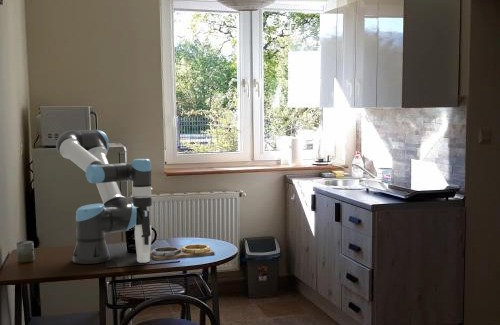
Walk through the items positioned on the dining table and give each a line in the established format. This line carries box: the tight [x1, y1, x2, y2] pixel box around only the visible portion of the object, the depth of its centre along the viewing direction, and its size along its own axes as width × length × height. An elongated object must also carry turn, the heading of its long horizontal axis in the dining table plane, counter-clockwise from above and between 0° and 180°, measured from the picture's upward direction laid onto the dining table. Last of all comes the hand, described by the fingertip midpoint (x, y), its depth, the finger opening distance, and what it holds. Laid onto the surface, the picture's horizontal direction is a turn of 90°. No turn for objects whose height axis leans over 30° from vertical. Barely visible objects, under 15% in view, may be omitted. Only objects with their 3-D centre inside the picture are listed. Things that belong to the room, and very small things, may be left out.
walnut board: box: [150, 247, 215, 261], centre depth 253 cm, size 26×13×1 cm, turn 112°
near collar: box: [151, 246, 181, 256], centre depth 251 cm, size 12×12×2 cm
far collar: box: [181, 243, 211, 253], centre depth 256 cm, size 12×12×2 cm
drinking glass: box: [134, 224, 152, 264], centre depth 240 cm, size 7×7×15 cm
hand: (143, 249), depth 240 cm, fingers open, 11 cm apart
